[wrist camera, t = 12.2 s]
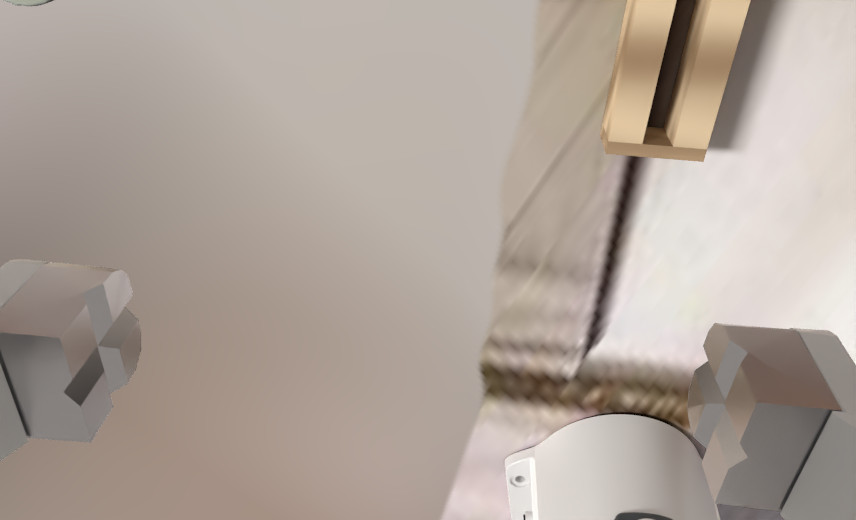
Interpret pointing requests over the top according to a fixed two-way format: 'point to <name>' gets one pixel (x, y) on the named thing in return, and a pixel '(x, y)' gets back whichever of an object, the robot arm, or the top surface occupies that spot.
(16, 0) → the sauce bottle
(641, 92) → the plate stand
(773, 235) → the top surface
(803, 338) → the robot arm
